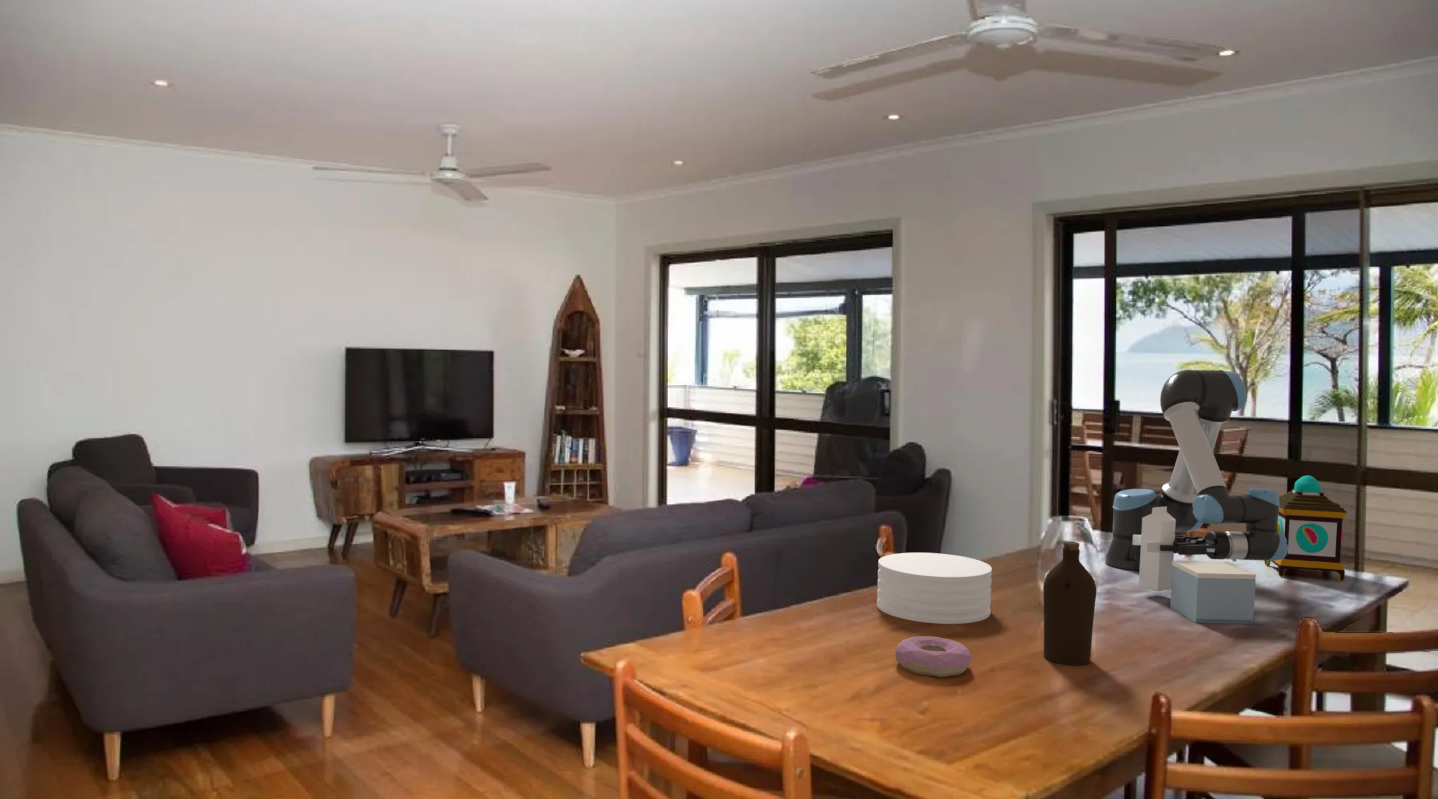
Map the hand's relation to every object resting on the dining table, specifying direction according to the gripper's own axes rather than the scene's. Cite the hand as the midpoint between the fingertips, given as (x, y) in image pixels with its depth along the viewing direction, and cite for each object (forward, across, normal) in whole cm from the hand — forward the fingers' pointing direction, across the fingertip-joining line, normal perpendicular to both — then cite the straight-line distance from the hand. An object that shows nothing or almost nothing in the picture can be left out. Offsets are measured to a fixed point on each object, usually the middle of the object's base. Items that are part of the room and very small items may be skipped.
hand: (1139, 543), depth 266 cm
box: (-11, -19, -14) cm, 26 cm away
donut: (+68, -65, -14) cm, 95 cm away
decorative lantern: (-64, +34, -15) cm, 74 cm away
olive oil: (+38, -57, -14) cm, 70 cm away
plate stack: (+59, -18, -15) cm, 63 cm away
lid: (-11, -19, -3) cm, 22 cm away
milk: (-5, 0, -12) cm, 13 cm away
